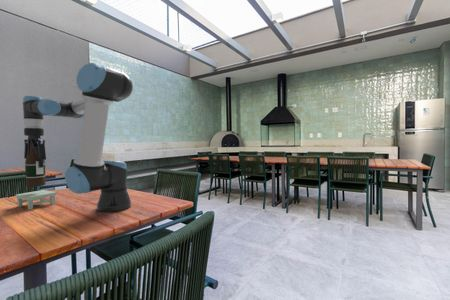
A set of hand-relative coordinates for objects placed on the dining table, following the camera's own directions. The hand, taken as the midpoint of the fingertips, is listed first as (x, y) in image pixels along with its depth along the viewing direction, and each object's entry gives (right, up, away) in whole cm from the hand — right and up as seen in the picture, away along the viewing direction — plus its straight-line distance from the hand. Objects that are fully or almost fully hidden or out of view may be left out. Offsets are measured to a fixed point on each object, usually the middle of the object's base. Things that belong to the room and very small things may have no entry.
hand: (35, 173), depth 116 cm
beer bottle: (0, -6, 0) cm, 6 cm away
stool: (0, -16, +1) cm, 16 cm away
